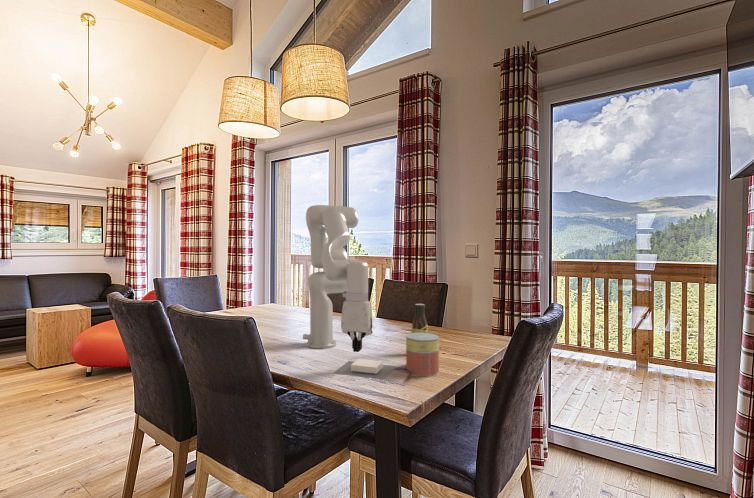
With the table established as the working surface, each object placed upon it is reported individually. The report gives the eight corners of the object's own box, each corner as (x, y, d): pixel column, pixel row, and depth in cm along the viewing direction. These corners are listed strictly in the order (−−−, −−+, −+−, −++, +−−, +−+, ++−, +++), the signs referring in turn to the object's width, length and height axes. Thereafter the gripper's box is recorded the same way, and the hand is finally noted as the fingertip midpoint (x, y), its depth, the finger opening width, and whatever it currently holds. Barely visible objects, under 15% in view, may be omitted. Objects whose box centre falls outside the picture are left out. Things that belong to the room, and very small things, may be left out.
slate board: (332, 376, 126) (332, 373, 126) (348, 363, 139) (348, 361, 139) (384, 382, 120) (384, 379, 120) (396, 368, 134) (396, 366, 134)
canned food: (417, 363, 140) (417, 331, 140) (445, 370, 132) (445, 335, 132) (399, 371, 131) (399, 336, 131) (427, 379, 124) (427, 342, 124)
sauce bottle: (427, 357, 147) (427, 305, 147) (410, 356, 149) (411, 305, 148) (428, 352, 154) (428, 303, 154) (412, 351, 155) (412, 302, 155)
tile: (351, 364, 128) (376, 367, 125) (358, 358, 134) (383, 361, 131) (351, 371, 128) (376, 374, 125) (358, 365, 134) (383, 368, 131)
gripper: (332, 297, 129) (332, 351, 129) (374, 299, 125) (374, 356, 125) (341, 295, 136) (341, 346, 137) (381, 296, 132) (381, 350, 132)
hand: (357, 350), depth 131 cm, fingers closed
